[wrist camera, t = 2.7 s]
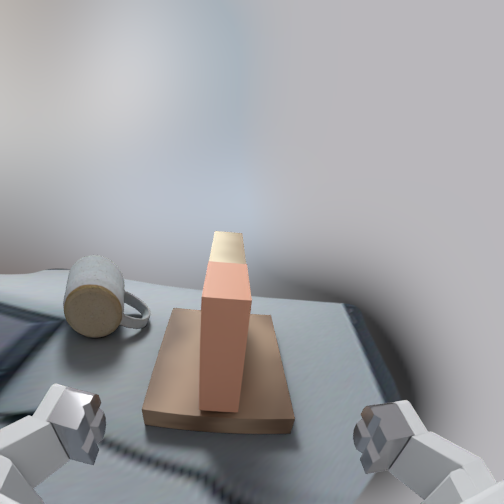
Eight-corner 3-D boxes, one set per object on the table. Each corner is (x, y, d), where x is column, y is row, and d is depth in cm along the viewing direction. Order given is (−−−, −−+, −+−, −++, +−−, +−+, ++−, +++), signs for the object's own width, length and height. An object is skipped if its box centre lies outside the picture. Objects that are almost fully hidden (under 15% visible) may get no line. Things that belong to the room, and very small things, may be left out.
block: (199, 409, 21) (201, 296, 18) (203, 362, 27) (208, 261, 24) (237, 412, 22) (251, 300, 19) (236, 364, 28) (246, 264, 25)
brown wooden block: (144, 424, 21) (128, 296, 18) (173, 321, 37) (174, 227, 34) (290, 433, 22) (323, 311, 19) (268, 328, 39) (282, 236, 35)
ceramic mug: (66, 343, 29) (56, 281, 27) (72, 308, 36) (66, 254, 34) (155, 339, 34) (154, 278, 31) (146, 305, 41) (146, 252, 38)
